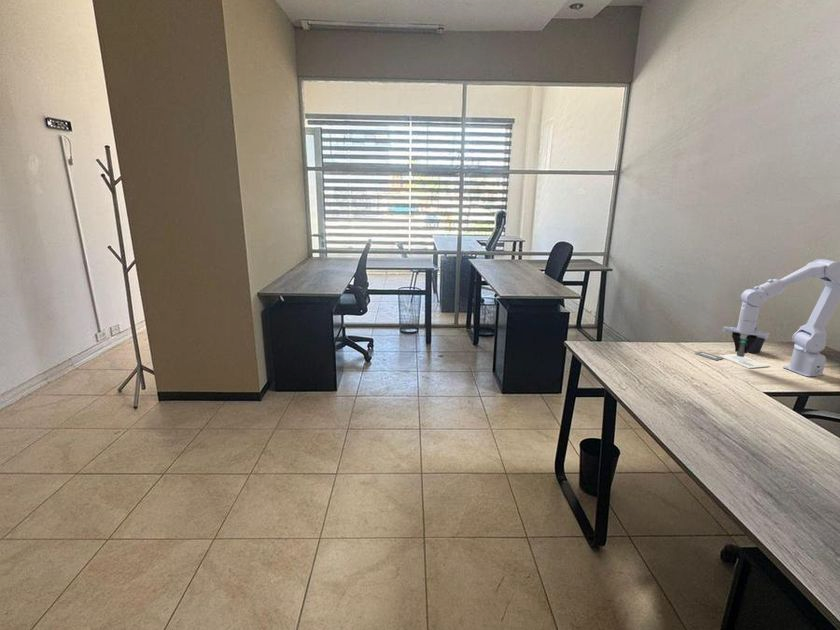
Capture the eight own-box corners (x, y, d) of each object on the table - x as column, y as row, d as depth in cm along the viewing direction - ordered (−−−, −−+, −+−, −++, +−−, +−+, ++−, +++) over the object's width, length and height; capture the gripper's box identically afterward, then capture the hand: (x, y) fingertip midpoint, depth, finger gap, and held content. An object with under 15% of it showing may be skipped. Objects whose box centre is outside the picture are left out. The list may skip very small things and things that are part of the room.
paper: (769, 366, 170) (769, 365, 169) (748, 368, 168) (748, 367, 168) (737, 354, 183) (737, 353, 183) (718, 356, 181) (718, 355, 181)
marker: (746, 356, 168) (749, 340, 166) (740, 357, 167) (744, 340, 166) (740, 354, 170) (743, 338, 168) (734, 354, 170) (738, 338, 168)
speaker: (736, 347, 190) (744, 326, 186) (747, 347, 191) (755, 326, 187) (751, 355, 183) (759, 333, 180) (762, 355, 184) (770, 333, 180)
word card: (723, 358, 178) (723, 357, 178) (716, 360, 176) (716, 359, 176) (701, 351, 186) (701, 351, 186) (694, 353, 184) (694, 353, 184)
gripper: (772, 320, 163) (765, 353, 166) (727, 314, 172) (721, 345, 176) (770, 324, 158) (763, 358, 162) (724, 317, 167) (718, 349, 171)
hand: (741, 351), depth 168 cm, fingers closed on marker, 2 cm apart
